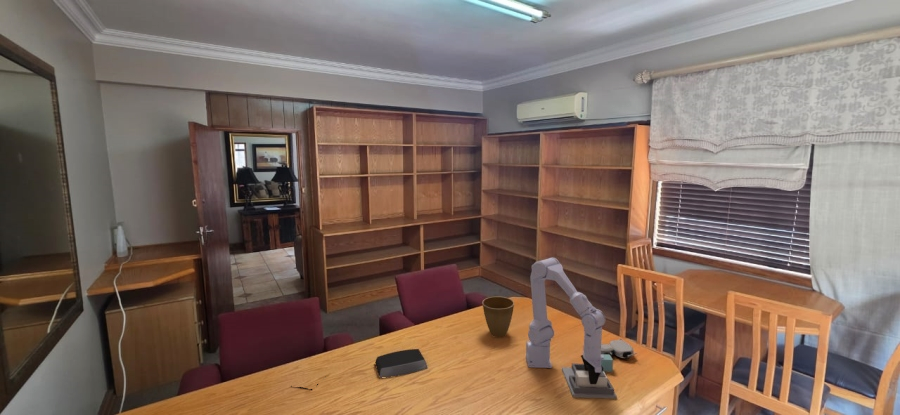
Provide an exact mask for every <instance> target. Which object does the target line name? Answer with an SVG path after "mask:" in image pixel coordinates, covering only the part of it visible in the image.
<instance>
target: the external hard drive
mask: <svg viewBox="0 0 900 415" xmlns="http://www.w3.org/2000/svg"><path fill="white" fill-rule="evenodd" d="M375 363H376V365H375V367H377V368H376V371H377V370H378V371H377V374H378V373H379V374H378V377H379V376H380V378H382V377H389V378H392V377H391V376H395V377H399V376H398V375H400V376H404V375H408V374H409V375H410V374H413V373H417V372H422V371H424V370H427V369H428V368H429V367H428V364H427V362H426V359H425V358H424V356H423V354H422V352H421V351H420V349H419V348H410V349H404V350H397V351H392V352H389V353H385V354H382V355H379V356H377V357H376V359H375V362H374V364H375ZM380 378H379V379H380Z"/></svg>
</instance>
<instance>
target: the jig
mask: <svg viewBox="0 0 900 415" xmlns="http://www.w3.org/2000/svg"><path fill="white" fill-rule="evenodd" d="M576 371H585V368H584V363H574V362H573V363H571V367H569V366H567V367H566V366H565V367H564V366H561V372H562V374H563V376H564V379H565V381H566V384H567V387H568V388H569V391H570V394H571V396H572V398H583V399H584V398H589V399H613V400H614V399H618V396H617V394H616V392H615V389H614V388H615V387H613V385H612V383H611V382H610V379H609V378H608V377H607V388H601V387H577V386H576V384H575V372H576Z"/></svg>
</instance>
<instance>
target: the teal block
mask: <svg viewBox="0 0 900 415" xmlns="http://www.w3.org/2000/svg"><path fill="white" fill-rule="evenodd" d="M601 355H603V356H604V359H601V366H602V367H603V371H604V373H605V372H606V373H608V372H609V373H613V370H614V359H613V358H612V356H610V355H607V354H601Z"/></svg>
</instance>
